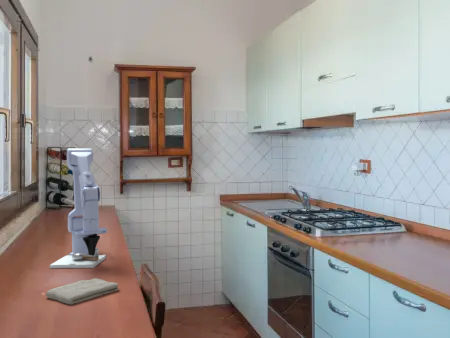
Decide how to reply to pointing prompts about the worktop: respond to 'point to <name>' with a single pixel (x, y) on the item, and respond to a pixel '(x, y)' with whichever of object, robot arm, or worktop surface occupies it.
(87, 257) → the silver piece
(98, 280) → the washcloth
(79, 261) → the base
